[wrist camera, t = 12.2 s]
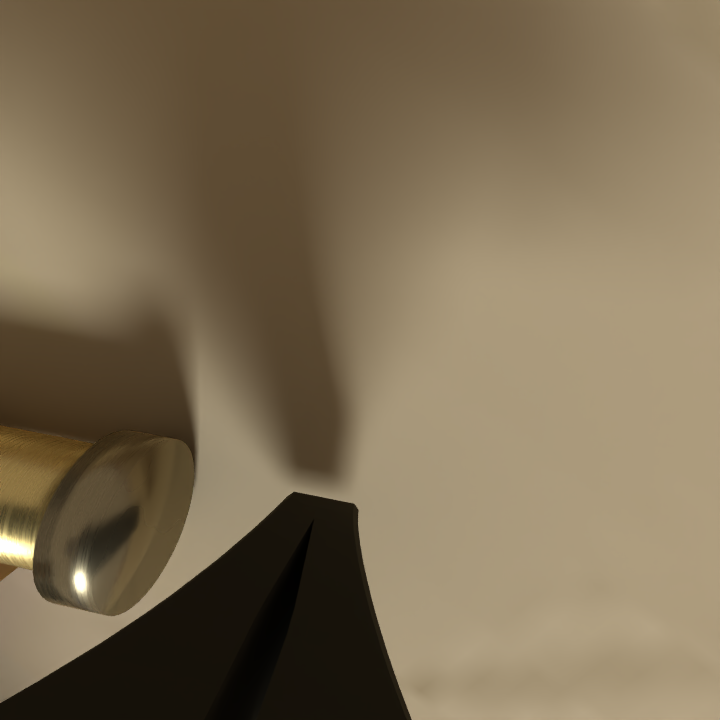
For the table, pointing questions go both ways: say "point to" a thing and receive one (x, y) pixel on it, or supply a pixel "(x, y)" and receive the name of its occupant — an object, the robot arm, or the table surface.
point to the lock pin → (92, 513)
